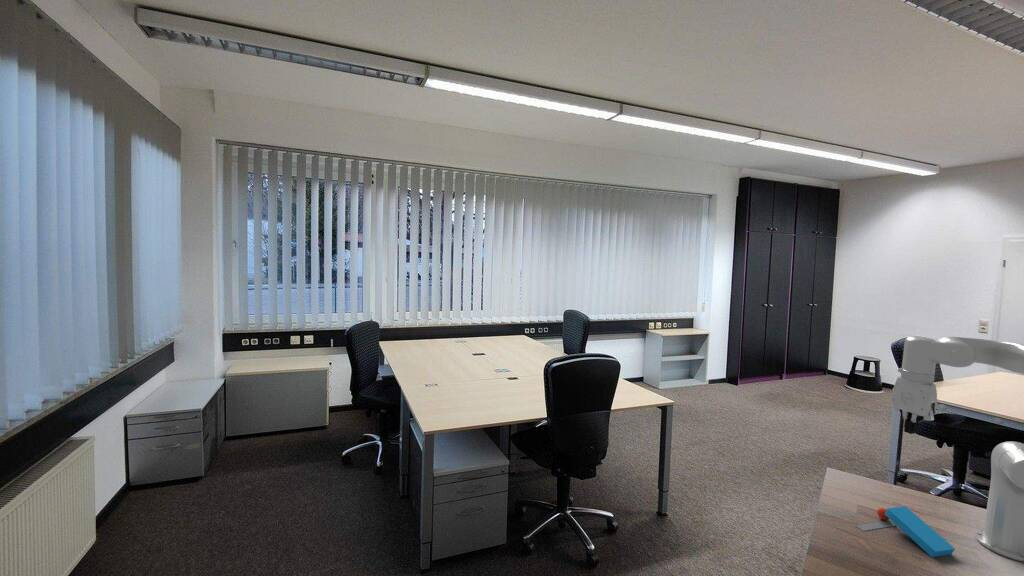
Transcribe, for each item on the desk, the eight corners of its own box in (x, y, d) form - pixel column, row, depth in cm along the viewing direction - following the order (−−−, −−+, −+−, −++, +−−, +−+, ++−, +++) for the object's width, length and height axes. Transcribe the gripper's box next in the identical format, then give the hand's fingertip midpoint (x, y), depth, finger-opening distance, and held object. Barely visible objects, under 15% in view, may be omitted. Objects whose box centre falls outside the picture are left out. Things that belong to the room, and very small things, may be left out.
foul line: (912, 516, 141) (912, 516, 141) (921, 521, 138) (921, 521, 138) (855, 525, 136) (855, 525, 136) (863, 531, 133) (863, 530, 133)
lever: (944, 565, 125) (885, 512, 142) (955, 548, 123) (894, 496, 139) (924, 568, 124) (868, 514, 141) (935, 551, 122) (876, 498, 138)
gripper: (882, 370, 141) (876, 423, 143) (935, 385, 127) (928, 444, 129) (900, 368, 143) (894, 421, 145) (955, 383, 128) (947, 442, 130)
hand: (910, 432), depth 137 cm, fingers closed
